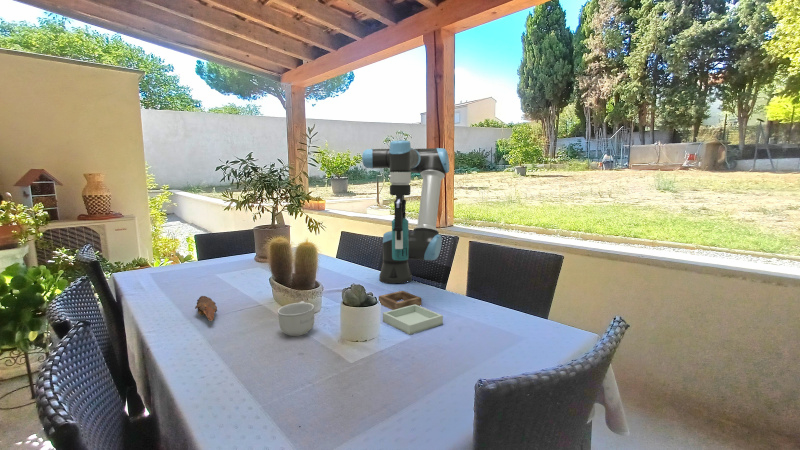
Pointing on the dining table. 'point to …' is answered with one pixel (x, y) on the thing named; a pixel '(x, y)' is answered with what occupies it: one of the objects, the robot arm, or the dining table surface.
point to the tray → (412, 319)
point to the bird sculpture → (206, 307)
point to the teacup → (296, 318)
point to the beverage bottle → (403, 253)
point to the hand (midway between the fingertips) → (400, 246)
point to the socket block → (392, 299)
